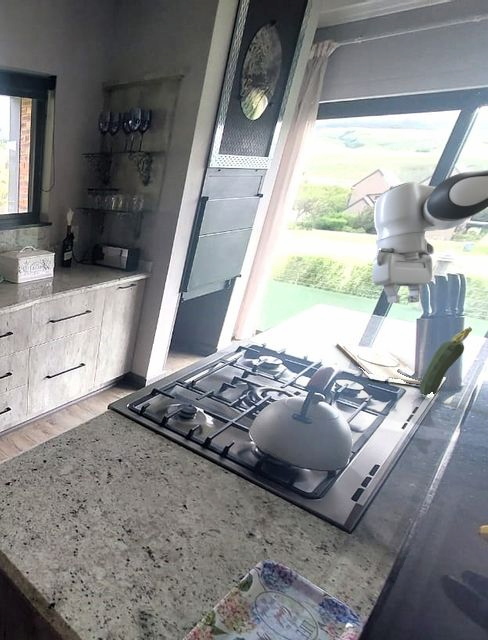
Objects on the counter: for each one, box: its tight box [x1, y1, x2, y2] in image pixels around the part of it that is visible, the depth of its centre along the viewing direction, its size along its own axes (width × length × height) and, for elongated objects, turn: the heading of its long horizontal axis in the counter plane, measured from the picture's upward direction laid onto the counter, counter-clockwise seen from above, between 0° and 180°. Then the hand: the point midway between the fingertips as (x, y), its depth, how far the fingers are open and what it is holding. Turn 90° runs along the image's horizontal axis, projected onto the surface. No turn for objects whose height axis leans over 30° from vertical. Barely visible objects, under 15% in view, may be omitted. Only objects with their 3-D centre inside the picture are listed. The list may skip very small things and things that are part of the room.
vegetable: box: [419, 326, 473, 396], centre depth 104 cm, size 4×4×20 cm
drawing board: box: [335, 343, 420, 385], centre depth 125 cm, size 14×26×1 cm, turn 160°
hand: (404, 302), depth 105 cm, fingers open, 8 cm apart
